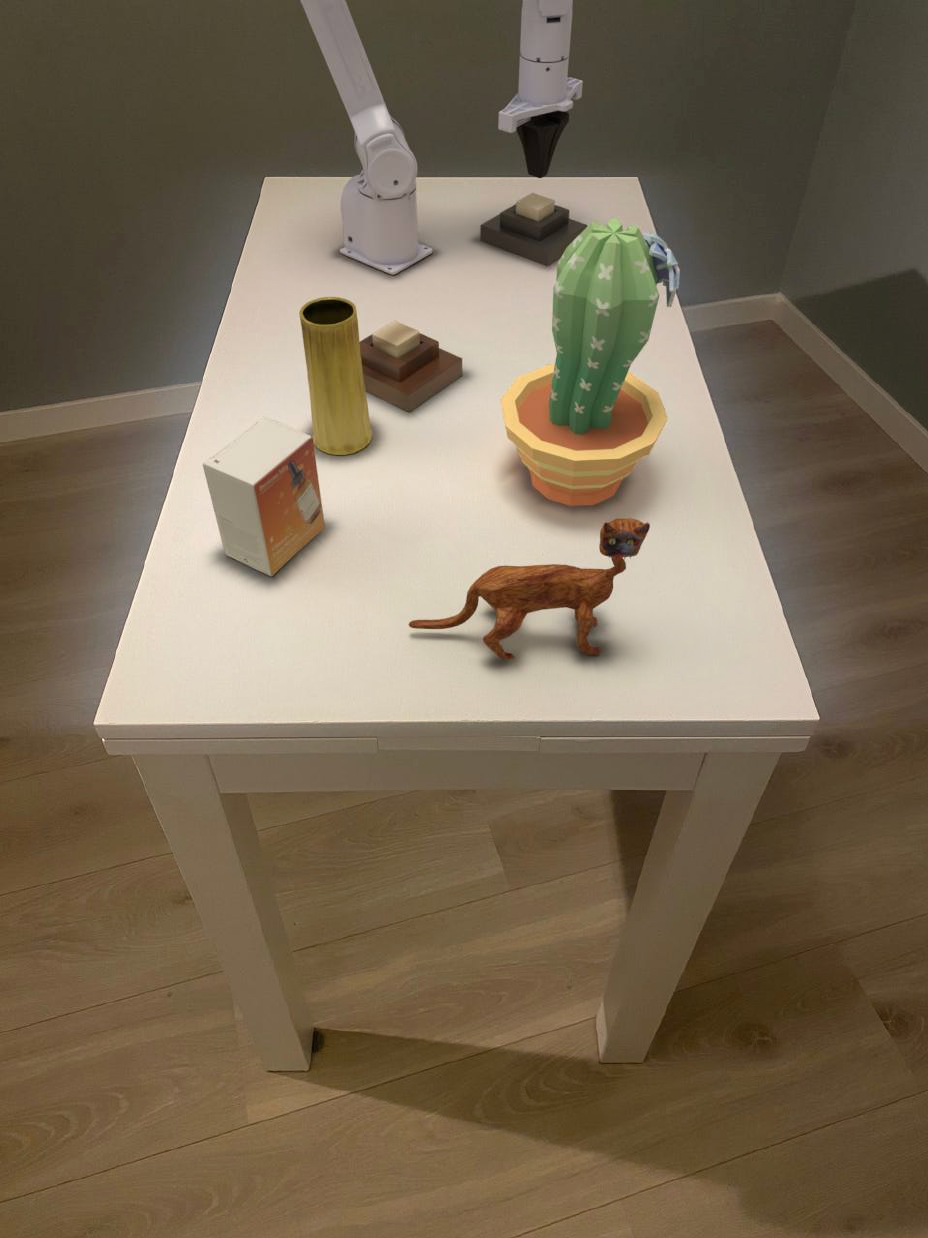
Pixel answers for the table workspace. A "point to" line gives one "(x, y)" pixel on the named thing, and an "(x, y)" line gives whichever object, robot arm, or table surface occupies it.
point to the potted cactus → (594, 368)
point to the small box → (266, 495)
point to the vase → (335, 376)
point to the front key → (396, 339)
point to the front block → (408, 372)
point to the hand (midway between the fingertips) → (537, 174)
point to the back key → (535, 207)
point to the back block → (532, 234)
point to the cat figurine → (549, 589)
